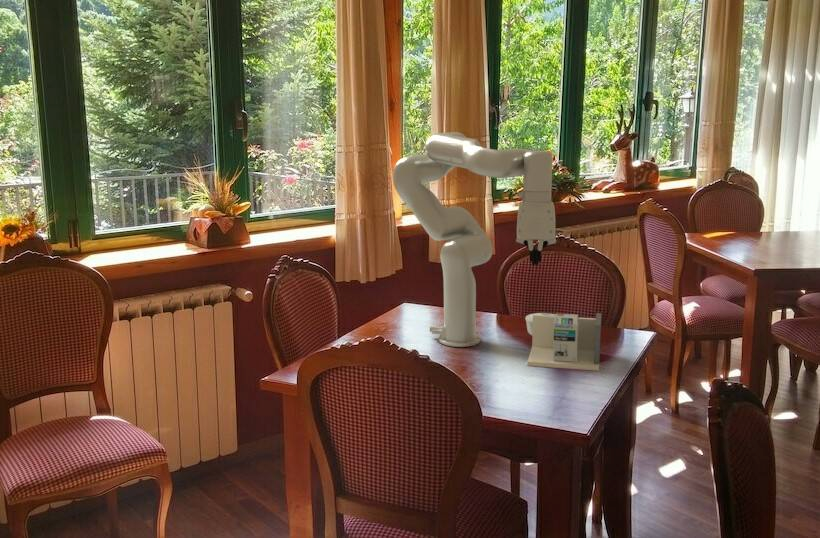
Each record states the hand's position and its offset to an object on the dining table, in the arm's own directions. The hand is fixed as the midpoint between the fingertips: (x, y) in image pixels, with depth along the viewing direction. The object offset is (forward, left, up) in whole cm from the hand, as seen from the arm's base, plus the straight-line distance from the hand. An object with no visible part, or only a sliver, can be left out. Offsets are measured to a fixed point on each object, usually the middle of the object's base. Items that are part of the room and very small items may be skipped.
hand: (535, 264), depth 217 cm
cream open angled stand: (+8, +2, -27) cm, 28 cm away
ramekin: (+1, +25, -27) cm, 37 cm away
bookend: (+17, +1, -26) cm, 31 cm away
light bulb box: (+9, +1, -26) cm, 28 cm away
